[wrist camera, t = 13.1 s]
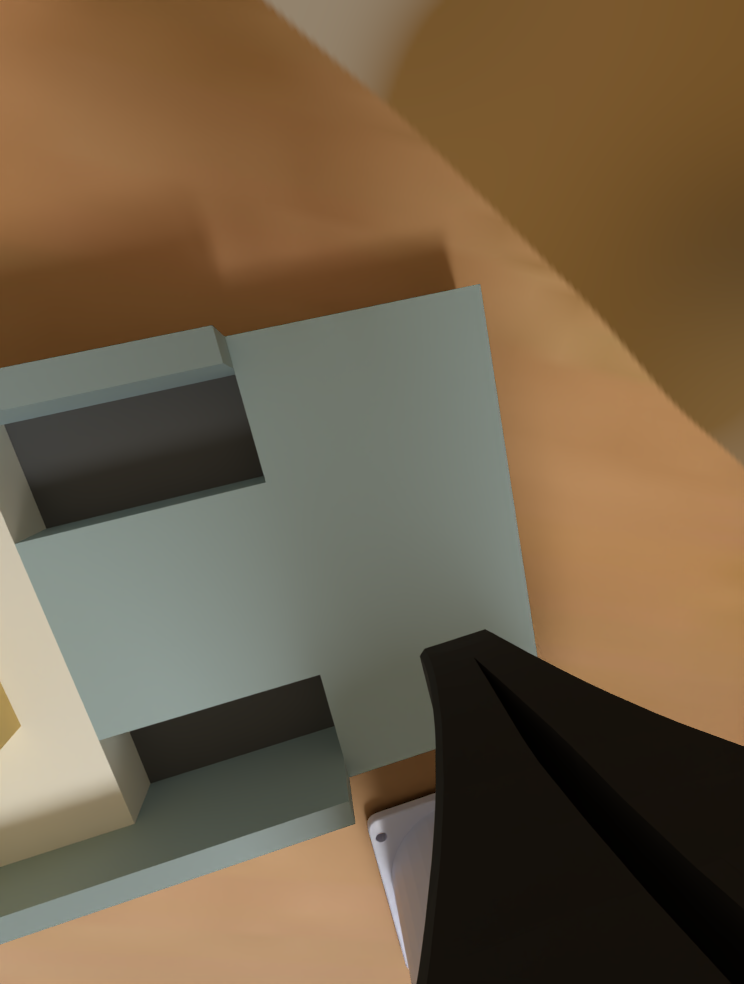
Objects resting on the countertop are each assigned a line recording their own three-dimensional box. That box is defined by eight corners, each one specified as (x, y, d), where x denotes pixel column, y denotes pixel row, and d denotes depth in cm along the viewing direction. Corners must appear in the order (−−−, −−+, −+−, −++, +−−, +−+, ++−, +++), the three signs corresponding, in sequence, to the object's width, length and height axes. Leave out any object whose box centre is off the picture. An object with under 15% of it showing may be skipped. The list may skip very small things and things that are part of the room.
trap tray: (522, 683, 20) (575, 749, 16) (-43, 862, 18) (-140, 991, 14) (459, 298, 17) (507, 265, 13) (-273, 451, 14) (-496, 468, 10)
